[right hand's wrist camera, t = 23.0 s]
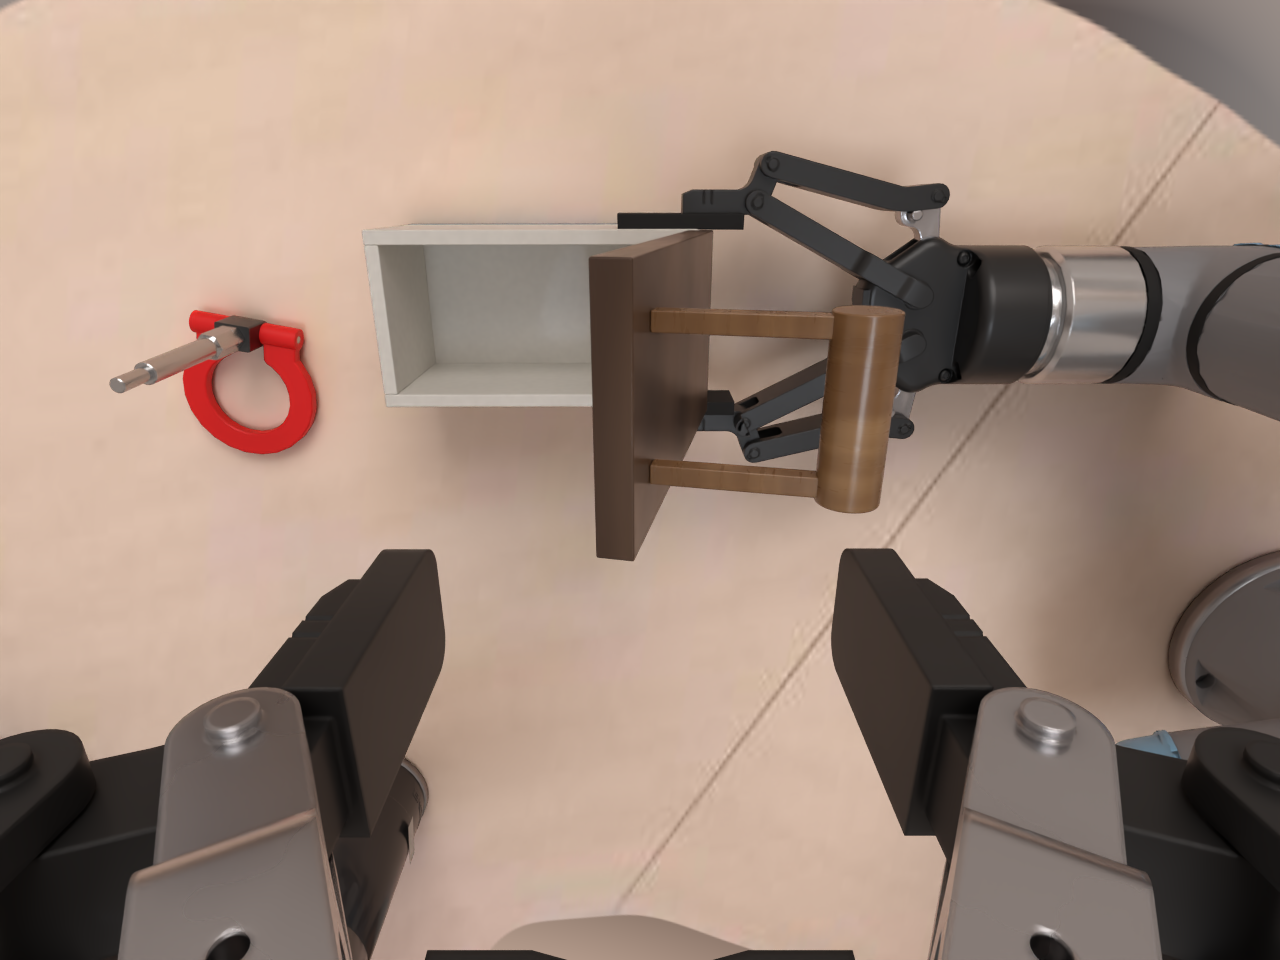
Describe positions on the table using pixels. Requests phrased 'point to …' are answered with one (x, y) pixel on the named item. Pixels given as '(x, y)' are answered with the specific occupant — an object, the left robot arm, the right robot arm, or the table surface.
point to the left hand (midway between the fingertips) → (619, 315)
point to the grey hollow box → (487, 311)
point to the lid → (678, 382)
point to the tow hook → (202, 357)
